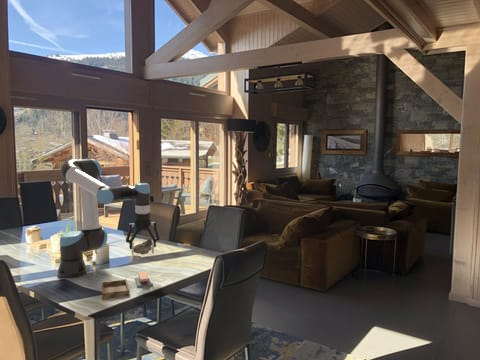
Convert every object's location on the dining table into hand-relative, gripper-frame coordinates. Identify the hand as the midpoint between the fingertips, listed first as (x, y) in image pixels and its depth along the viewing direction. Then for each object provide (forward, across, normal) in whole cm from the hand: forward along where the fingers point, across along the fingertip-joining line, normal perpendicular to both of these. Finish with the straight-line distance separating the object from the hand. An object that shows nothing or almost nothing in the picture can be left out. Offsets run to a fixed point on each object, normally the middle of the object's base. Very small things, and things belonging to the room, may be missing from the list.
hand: (142, 254), depth 200 cm
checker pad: (+13, 0, 0) cm, 13 cm away
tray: (+16, -15, -7) cm, 23 cm away
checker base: (+16, 0, 0) cm, 16 cm away
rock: (+1, 0, +4) cm, 4 cm away
